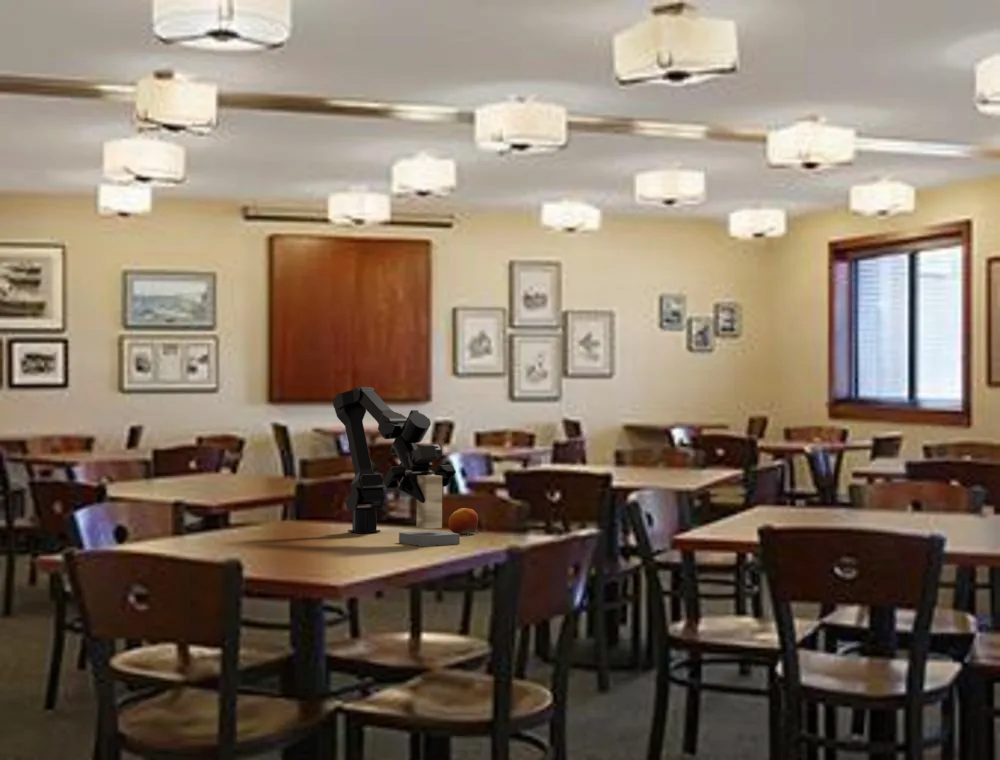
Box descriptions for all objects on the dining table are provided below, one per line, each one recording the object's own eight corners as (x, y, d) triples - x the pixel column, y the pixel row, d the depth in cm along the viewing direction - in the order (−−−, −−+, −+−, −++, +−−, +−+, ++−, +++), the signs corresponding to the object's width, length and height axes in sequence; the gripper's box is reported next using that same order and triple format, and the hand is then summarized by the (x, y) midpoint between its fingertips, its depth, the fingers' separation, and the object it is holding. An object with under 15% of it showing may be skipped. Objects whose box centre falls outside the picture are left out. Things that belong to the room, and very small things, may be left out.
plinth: (398, 542, 357) (399, 532, 357) (435, 540, 363) (435, 530, 363) (422, 546, 348) (422, 536, 348) (459, 544, 354) (459, 534, 354)
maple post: (416, 527, 356) (416, 475, 356) (431, 526, 359) (432, 474, 359) (426, 528, 352) (426, 476, 352) (441, 527, 355) (442, 475, 355)
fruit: (471, 530, 373) (459, 503, 376) (451, 544, 377) (439, 517, 380) (490, 528, 380) (478, 502, 382) (470, 542, 384) (458, 515, 386)
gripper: (389, 434, 353) (412, 481, 344) (452, 433, 364) (476, 478, 355) (373, 464, 360) (395, 511, 351) (435, 462, 371) (458, 508, 362)
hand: (432, 501), depth 354 cm, fingers closed on maple post, 5 cm apart
